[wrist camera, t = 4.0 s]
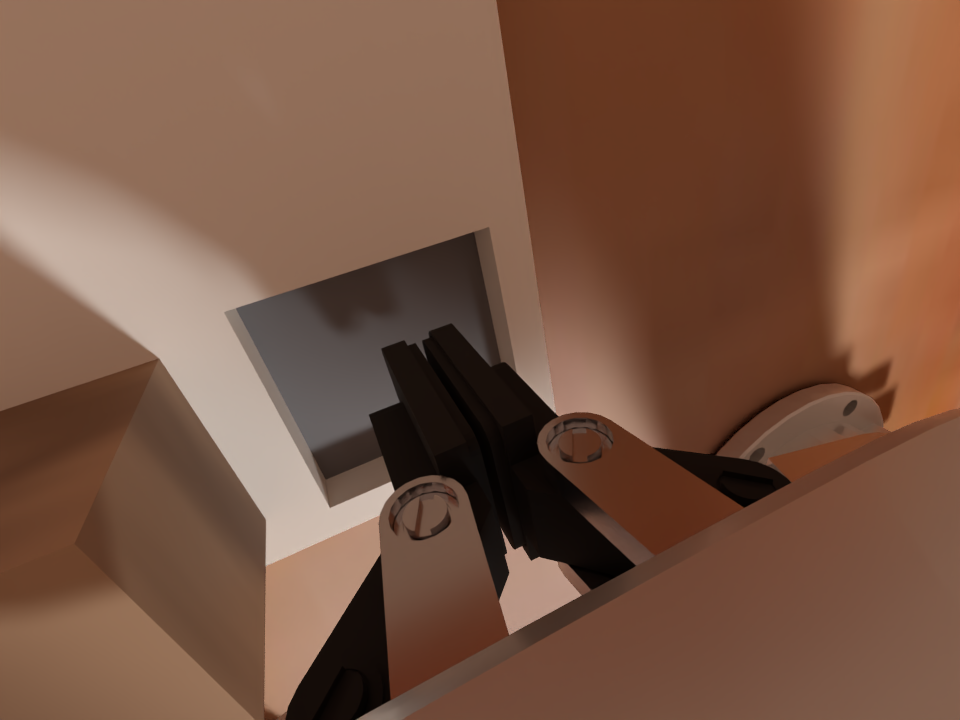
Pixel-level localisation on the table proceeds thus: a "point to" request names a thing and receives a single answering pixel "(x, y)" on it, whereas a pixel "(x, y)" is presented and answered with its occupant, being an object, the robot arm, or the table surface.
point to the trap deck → (262, 220)
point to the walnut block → (126, 560)
